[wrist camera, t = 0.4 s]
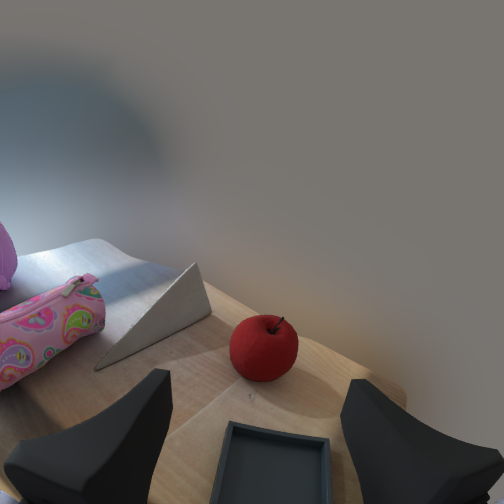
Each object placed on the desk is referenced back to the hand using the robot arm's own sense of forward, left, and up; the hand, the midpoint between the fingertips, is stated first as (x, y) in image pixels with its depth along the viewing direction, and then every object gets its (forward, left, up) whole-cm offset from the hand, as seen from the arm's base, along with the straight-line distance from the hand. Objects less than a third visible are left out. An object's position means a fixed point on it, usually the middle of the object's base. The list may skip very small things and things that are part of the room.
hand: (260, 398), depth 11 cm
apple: (+25, -3, -22) cm, 33 cm away
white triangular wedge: (+26, +12, -22) cm, 36 cm away
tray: (+6, -6, -21) cm, 23 cm away
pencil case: (+14, +25, -22) cm, 36 cm away
